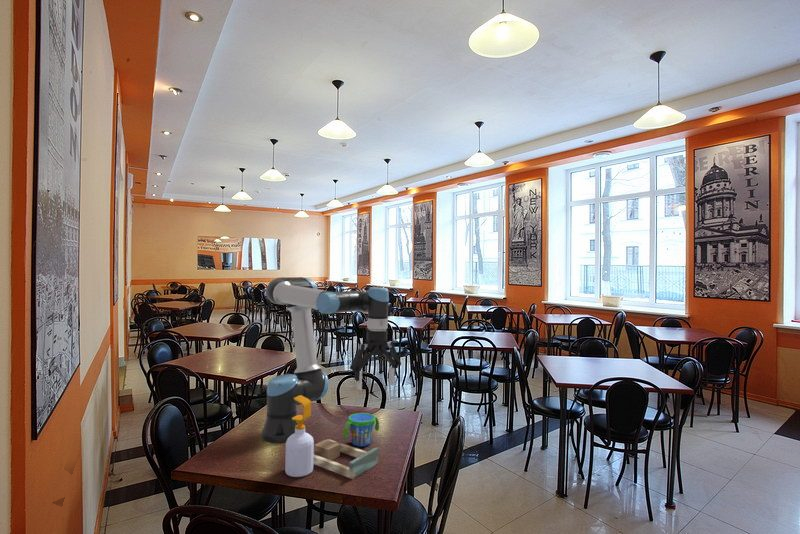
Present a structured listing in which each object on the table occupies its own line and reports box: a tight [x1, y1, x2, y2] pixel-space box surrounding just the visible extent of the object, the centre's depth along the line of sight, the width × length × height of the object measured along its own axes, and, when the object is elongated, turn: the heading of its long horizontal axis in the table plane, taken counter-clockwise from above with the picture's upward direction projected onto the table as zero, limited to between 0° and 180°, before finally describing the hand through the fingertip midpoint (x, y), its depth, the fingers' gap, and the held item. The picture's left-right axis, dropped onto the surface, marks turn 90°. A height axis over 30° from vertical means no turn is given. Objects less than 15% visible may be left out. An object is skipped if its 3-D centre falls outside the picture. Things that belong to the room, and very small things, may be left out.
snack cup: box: [342, 412, 380, 447], centre depth 159 cm, size 16×10×10 cm
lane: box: [313, 438, 380, 480], centre depth 144 cm, size 24×14×5 cm, turn 56°
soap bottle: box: [284, 395, 315, 478], centre depth 136 cm, size 9×9×25 cm
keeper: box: [314, 439, 341, 461], centre depth 147 cm, size 7×6×4 cm
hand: (375, 387), depth 150 cm, fingers open, 13 cm apart
